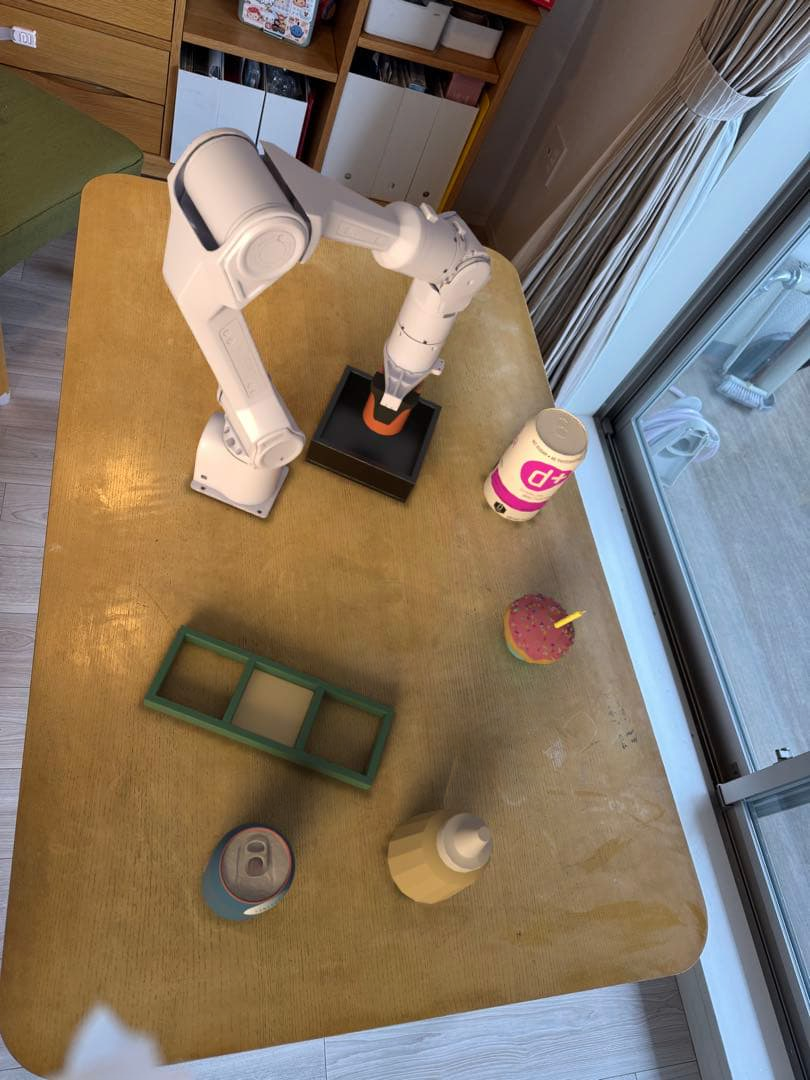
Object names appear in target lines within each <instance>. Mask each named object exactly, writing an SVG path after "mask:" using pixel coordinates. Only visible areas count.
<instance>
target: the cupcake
mask: <svg viewBox="0 0 810 1080" xmlns="http://www.w3.org/2000/svg"><path fill="white" fill-rule="evenodd" d="M587 611H588V609H583V610H581V609H578V610H576V611H574V612H573V613H571V614H568V613H567V610H566V609H565V608H564V607H563V605H562V604H561V603H560V602H558V601H557V600H554V599H553V598H552V597H548V596H546V595H544V594H541V593H528V594H523V596H521V597H519V598H517V599H515V600H513V601H512V602H511V603H509V605H508V606H507V607H506V609H505V611H504V614H503V615H504V616H503V626H504V632H503V633H504V639H505V644H506V647H507V649H508V651H509V652H510V654H512V656H514V657H515V658H516V659H518V660H521V661H525V662H527V663H528V664H537V665H538V664H539V665H549V664H550V665H551V664H554V663H557V662H558V661H560V660H561V659H563V658H565V656H567V654H568V653H569V652H570V650H571V648H572V645H574V644H575V643H574V640H575V637H576V633H577V631H576V630H575V626H574V622H573V620H576V619H578V618H580V617H582V616H583V614H584V613H586V612H587Z"/></svg>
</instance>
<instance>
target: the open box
mask: <svg viewBox="0 0 810 1080" xmlns="http://www.w3.org/2000/svg"><path fill="white" fill-rule="evenodd" d="M373 377H374V375H373V374H371V373H368V372H366V371H364V370H361V369H359V368H357V367H355V366H352V365H350V364H348V363H347V364H346V365H345V367H344V369H343V372H342V374H341V376H340V378H339V380H338V382H337V385H336V387H335V388H334V391H333V393H332V395H331V397H330V399H329V402H328V404H327V406H326V407H325V410H324V412H323V414H322V417H321V419H320V420H319V422H318V425H317V427H316V429H315V430H314V434H313V435H312V438H311V440H310V443H309V447H308V448H307V449H308V450H307V453H306V456H305V458H304V461H305V462H307V463H309V464H311V465H313V466H316V467H318V468H321V469H322V470H325V471H327V472H330V473H331V474H334V475H337V476H339V477H342V478H344V479H347V480H349V481H351V482H354V483H355V484H358V485H360V486H363V487H365V488H367V489H370V490H372V491H375V492H377V493H379V494H381V495H383V496H386V497H387V498H391V499H393V500H395V501H398V502H400V503H402V504H405V503H406V501H407V500H408V497H409V496H410V494H411V493H412V491H413V489H414V487H415V486H416V483H417V481H418V477H419V474H420V472H421V469H422V466H423V463H424V461H425V458H426V454H427V452H428V450H429V447H430V443H431V440H432V437H433V434H434V432H435V429H436V426H437V424H438V420H439V417H440V415H441V412H442V409H443V406H442V405H440V404H437V403H436V402H434V401H431V400H428V399H426V398H425V397H421V396H420V397H419V400H418V403H417V404H416V406H415V407H414V408H412V410H411V412H410V414H409V416H408V418H407V420H406V422H405V424H404V426H403V428H402V430H401V431H400V432H398V433H396V434H394V435H382V434H379V433H376V432H374V431H373V430H372V429H370V428H369V427H368V426H367V424H366V423H365V421H364V418H363V410H364V407H365V404H366V402H367V399H368V397H369V395H370V392H371V382H372V379H373Z"/></svg>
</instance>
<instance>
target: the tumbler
mask: <svg viewBox="0 0 810 1080" xmlns="http://www.w3.org/2000/svg"><path fill="white" fill-rule="evenodd" d="M378 372H380V373H382V374H384V375H385V368H384V362H382V364H381V365H380V368H379V370H378ZM424 386H425V378H424V379H423V380H422V381H421V382H420V383H419V384H417V385H416V386H415V387H414V388H413V389H412V391H415V392H417V393H419V394H421V391H422V390H423V388H424ZM411 410H412V409H408V410H405V411H404V412H402V413H401V414H400V415H399V416H398V417H397V418H396V419H395V420H394V421H393V422H392V423H391V424H390V425H386V424H383V423H381V422H379V421H377V420H374V418H373V411H374V396H373V393H372V391H371V392H370V395H369V397H368V399H367V402H366V404H365V407H364V410H363V418H364V421H365V423H366V424H367V426H368V427H369V428H370V429H372V430H373V431H374V432H376V433H379V434H382V435H394V434H396V433H398V432H400V431H401V430H402V428H403V426H404V424H405V422H406V420H407V418H408V416H409V414H410V412H411Z"/></svg>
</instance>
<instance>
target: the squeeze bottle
mask: <svg viewBox="0 0 810 1080" xmlns="http://www.w3.org/2000/svg"><path fill="white" fill-rule="evenodd" d="M493 845H494V839H493V835H492V832H491V829H490V827H489V826H488V824H487V823H486V822H485V820H484V819H482V818H481V817H479V816H478V815H476V814H474V813H472V812H471V811H470V810H468V809H466V808H462V807H455V806H451V807H446V808H442V809H438V810H434V811H429V812H425V813H421V814H418V815H413V816H410V817H408V818H407V819H406V820H404V821H403V822H402V823H400V824H399V825H398V826H397V827H396V829H395V831H394V832H393V835H392V836H391V838H390V840H389V842H388V851H387V860H386V861H387V864H388V868H389V872H390V876H391V879H392V880H393V882H394V883H395V885H396V886H397V888H398V889H399V890H400V892H401V893H403V894H404V895H405V896H407V897H409V898H410V900H411V899H412V900H413V901H415V902H418V903H423V904H429V905H433V904H436V903H439V902H443V901H446V900H449V898H451V897H453V896H454V895H456V894H458V893H459V892H461V891H463V890H464V889H466V888H467V887H469V886H471V885H472V884H473V883H475V882H476V881H477V880H478V879H479V878H481V876H483V875H484V874H485V872H486V870H487V868H488V866H489V863H490V861H491V858H492V857H491V855H492V853H493Z"/></svg>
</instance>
